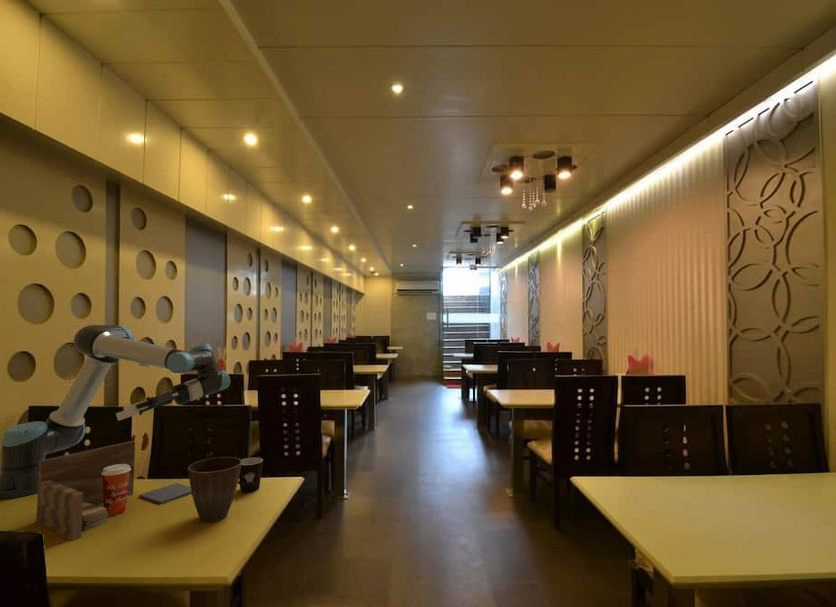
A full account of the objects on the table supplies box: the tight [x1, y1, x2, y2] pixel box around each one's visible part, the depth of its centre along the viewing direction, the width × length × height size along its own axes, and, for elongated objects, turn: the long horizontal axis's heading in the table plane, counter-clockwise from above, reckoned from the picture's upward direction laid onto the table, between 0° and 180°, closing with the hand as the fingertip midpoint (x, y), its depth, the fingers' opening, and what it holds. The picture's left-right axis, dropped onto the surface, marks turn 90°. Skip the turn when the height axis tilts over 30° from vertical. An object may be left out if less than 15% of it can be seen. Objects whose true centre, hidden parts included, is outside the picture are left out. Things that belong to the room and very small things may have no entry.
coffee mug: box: [237, 457, 264, 493], centre depth 153 cm, size 12×9×10 cm
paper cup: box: [101, 464, 131, 517], centre depth 134 cm, size 8×8×14 cm
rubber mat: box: [138, 482, 192, 505], centre depth 148 cm, size 13×13×1 cm
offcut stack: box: [81, 502, 109, 532], centre depth 126 cm, size 12×7×4 cm, turn 67°
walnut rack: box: [36, 440, 136, 541], centre depth 133 cm, size 24×26×18 cm
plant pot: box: [187, 456, 242, 523], centre depth 130 cm, size 15×15×16 cm
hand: (120, 414), depth 143 cm, fingers open, 13 cm apart
